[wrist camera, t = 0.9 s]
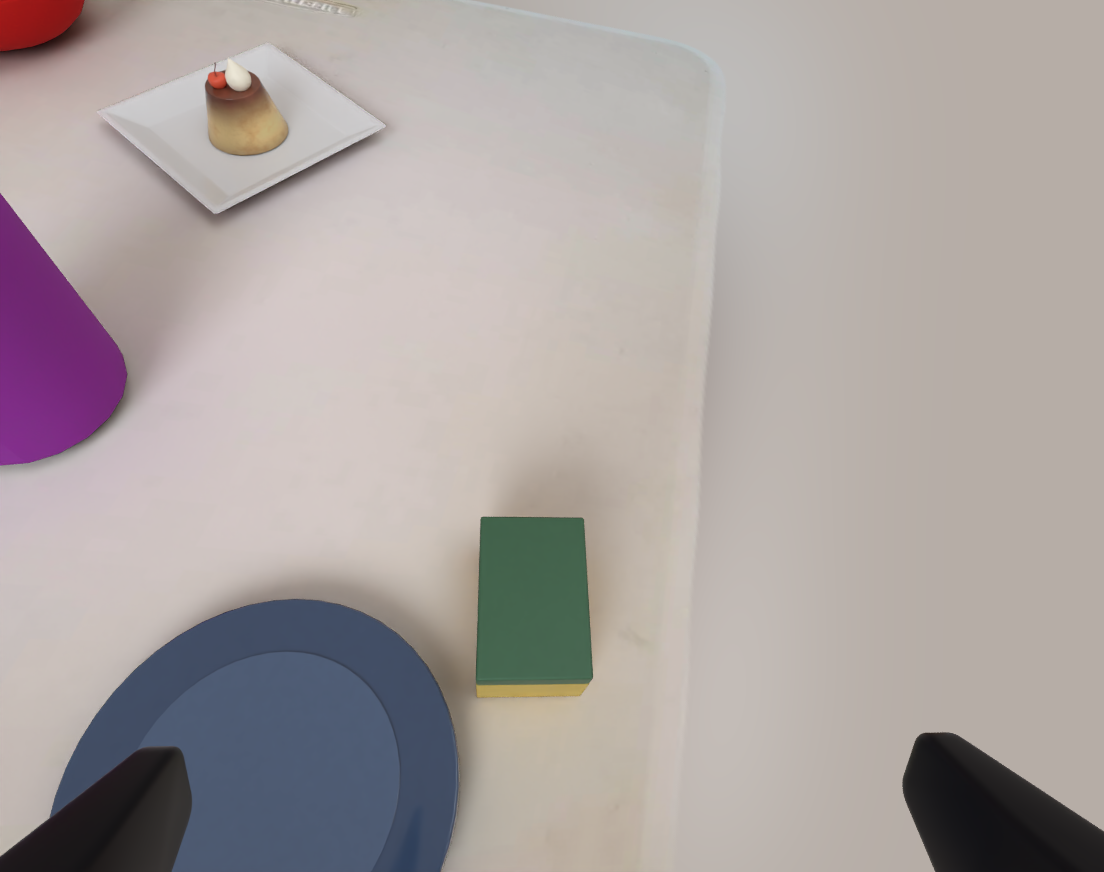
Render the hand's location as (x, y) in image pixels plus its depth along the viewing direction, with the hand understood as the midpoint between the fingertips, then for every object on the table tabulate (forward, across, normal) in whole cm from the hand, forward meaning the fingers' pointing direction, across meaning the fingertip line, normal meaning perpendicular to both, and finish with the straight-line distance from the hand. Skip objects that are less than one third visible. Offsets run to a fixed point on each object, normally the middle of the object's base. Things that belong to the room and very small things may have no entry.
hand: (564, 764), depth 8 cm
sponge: (+16, 0, +10) cm, 19 cm away
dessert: (+40, +17, -8) cm, 44 cm away
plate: (+11, +8, +14) cm, 20 cm away
